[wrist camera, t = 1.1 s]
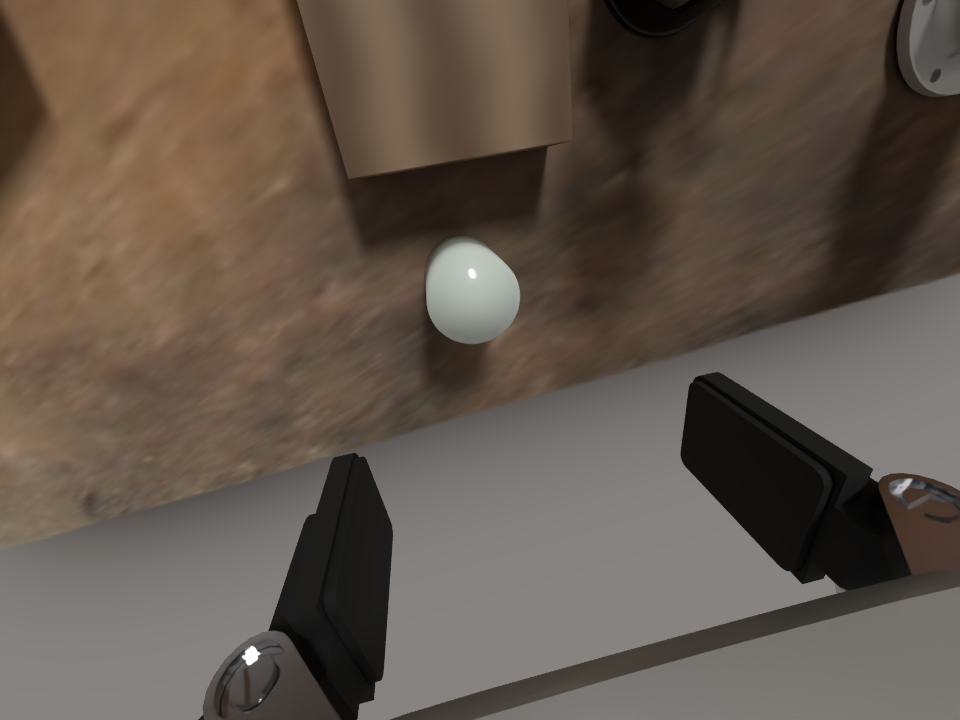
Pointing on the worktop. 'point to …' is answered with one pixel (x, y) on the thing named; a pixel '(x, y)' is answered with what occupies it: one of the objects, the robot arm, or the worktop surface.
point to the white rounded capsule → (469, 290)
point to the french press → (658, 16)
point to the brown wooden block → (440, 79)
